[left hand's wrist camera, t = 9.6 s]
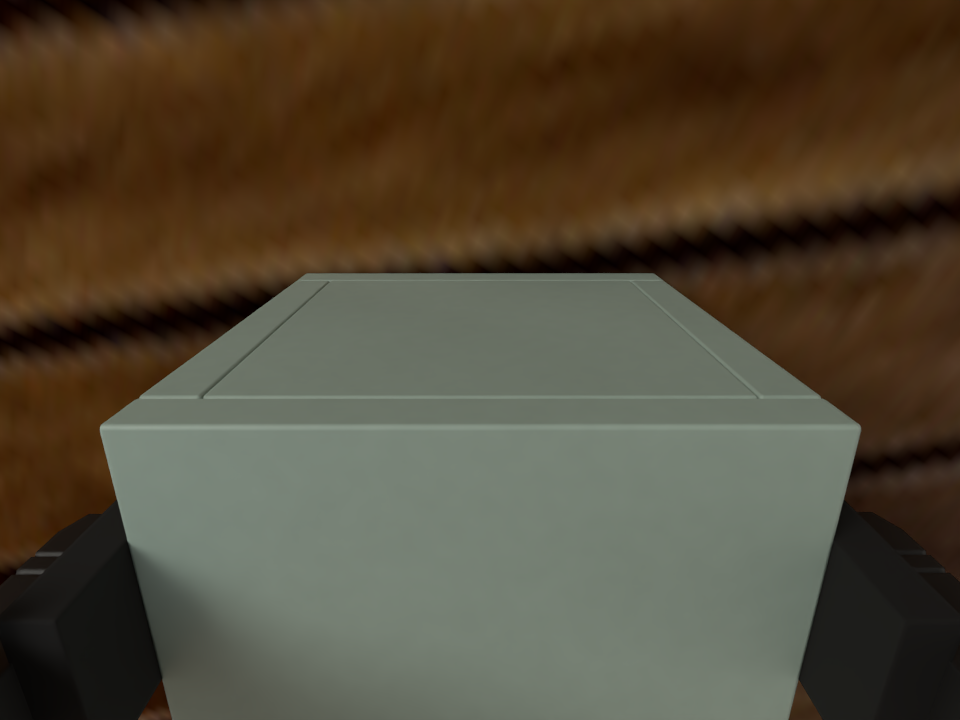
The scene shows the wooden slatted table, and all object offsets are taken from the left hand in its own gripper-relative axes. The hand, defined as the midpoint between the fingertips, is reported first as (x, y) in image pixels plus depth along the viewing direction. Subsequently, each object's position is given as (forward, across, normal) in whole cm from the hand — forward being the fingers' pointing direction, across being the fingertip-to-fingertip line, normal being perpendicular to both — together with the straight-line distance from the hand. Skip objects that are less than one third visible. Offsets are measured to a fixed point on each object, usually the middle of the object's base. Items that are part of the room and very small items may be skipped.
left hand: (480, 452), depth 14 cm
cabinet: (+5, 0, -5) cm, 7 cm away
